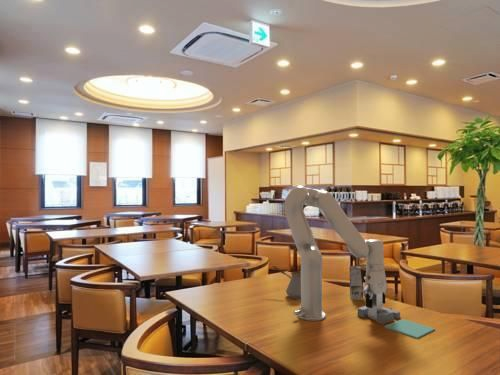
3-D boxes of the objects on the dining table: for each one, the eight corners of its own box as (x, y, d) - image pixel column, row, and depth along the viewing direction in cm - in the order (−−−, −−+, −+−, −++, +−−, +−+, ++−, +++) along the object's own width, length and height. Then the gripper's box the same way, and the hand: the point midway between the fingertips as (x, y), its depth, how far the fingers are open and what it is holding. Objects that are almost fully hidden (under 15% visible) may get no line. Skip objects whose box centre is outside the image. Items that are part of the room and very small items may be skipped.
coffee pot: (311, 296, 193) (310, 268, 193) (301, 301, 183) (301, 272, 184) (277, 289, 205) (277, 263, 205) (266, 294, 196) (266, 267, 196)
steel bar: (376, 320, 156) (376, 293, 156) (367, 317, 160) (367, 290, 160) (382, 318, 159) (382, 291, 159) (373, 315, 163) (373, 289, 163)
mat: (417, 338, 137) (417, 337, 137) (384, 327, 148) (384, 326, 148) (434, 330, 145) (434, 328, 145) (402, 320, 156) (402, 318, 156)
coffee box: (363, 300, 185) (363, 269, 185) (350, 299, 186) (350, 268, 186) (361, 295, 194) (361, 265, 194) (349, 294, 195) (349, 265, 195)
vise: (383, 324, 152) (382, 316, 152) (357, 315, 162) (357, 308, 162) (403, 315, 162) (403, 308, 162) (378, 308, 172) (378, 301, 172)
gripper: (370, 271, 151) (371, 311, 151) (393, 265, 162) (394, 303, 162) (356, 268, 157) (356, 307, 157) (378, 263, 168) (379, 299, 168)
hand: (375, 305), depth 159 cm, fingers open, 9 cm apart
